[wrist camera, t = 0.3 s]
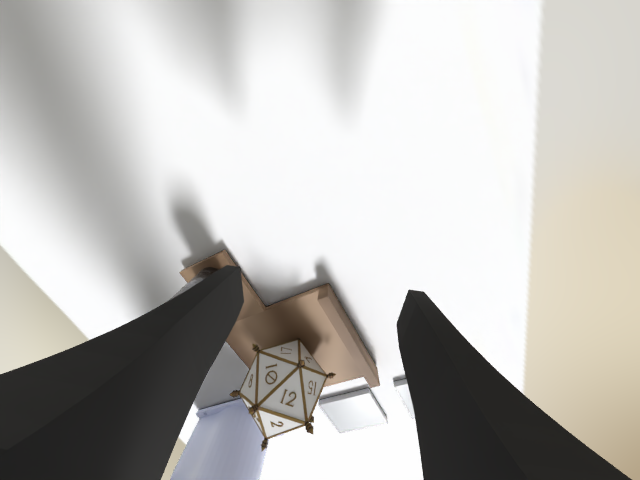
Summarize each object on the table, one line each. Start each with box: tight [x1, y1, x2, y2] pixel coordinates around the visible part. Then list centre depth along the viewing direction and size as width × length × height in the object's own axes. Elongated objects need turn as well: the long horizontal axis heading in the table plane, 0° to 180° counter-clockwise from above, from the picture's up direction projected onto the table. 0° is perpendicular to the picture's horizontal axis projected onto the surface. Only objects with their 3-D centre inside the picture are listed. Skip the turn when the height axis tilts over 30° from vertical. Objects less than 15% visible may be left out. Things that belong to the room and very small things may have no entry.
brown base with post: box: [170, 250, 380, 388], centre depth 21 cm, size 13×19×6 cm
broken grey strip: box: [319, 379, 415, 433], centre depth 27 cm, size 16×6×1 cm, turn 117°
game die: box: [230, 338, 336, 451], centre depth 22 cm, size 9×8×10 cm
